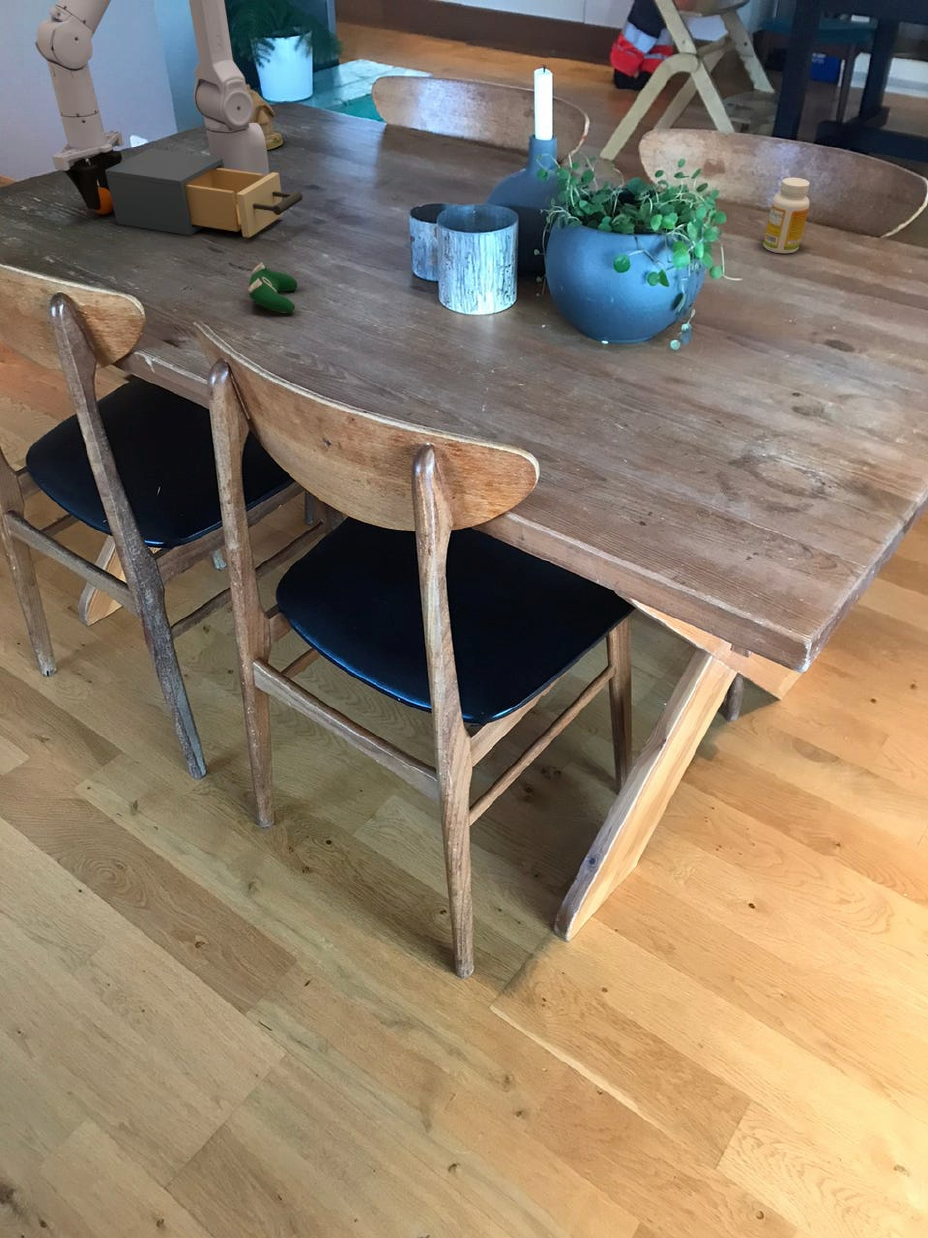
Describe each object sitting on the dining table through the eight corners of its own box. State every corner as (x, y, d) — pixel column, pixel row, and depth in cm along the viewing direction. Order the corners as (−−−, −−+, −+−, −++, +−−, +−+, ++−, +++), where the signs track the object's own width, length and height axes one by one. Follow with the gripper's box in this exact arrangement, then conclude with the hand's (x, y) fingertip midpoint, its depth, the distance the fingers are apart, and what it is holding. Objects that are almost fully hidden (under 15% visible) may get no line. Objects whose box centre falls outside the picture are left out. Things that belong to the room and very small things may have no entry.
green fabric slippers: (283, 300, 132) (248, 271, 129) (300, 280, 130) (265, 251, 127) (279, 329, 125) (242, 299, 122) (296, 309, 123) (260, 278, 120)
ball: (114, 207, 154) (108, 182, 151) (120, 215, 151) (114, 189, 148) (89, 211, 152) (83, 186, 150) (95, 219, 150) (88, 193, 147)
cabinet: (231, 210, 153) (223, 157, 148) (190, 235, 145) (180, 180, 140) (161, 199, 157) (150, 147, 151) (117, 223, 148) (104, 169, 143)
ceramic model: (209, 139, 183) (200, 81, 176) (257, 128, 188) (250, 72, 182) (249, 155, 175) (241, 96, 168) (298, 144, 181) (292, 86, 174)
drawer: (311, 218, 148) (307, 176, 144) (277, 242, 141) (272, 198, 137) (216, 204, 153) (210, 163, 149) (179, 226, 145) (171, 183, 141)
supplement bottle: (799, 243, 145) (816, 177, 138) (796, 256, 141) (813, 189, 134) (764, 239, 146) (779, 173, 140) (760, 251, 142) (775, 184, 136)
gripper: (70, 127, 136) (95, 222, 145) (130, 103, 146) (149, 193, 155) (31, 122, 137) (57, 216, 147) (93, 98, 147) (114, 188, 157)
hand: (102, 204), depth 151 cm, fingers closed on ball, 4 cm apart
